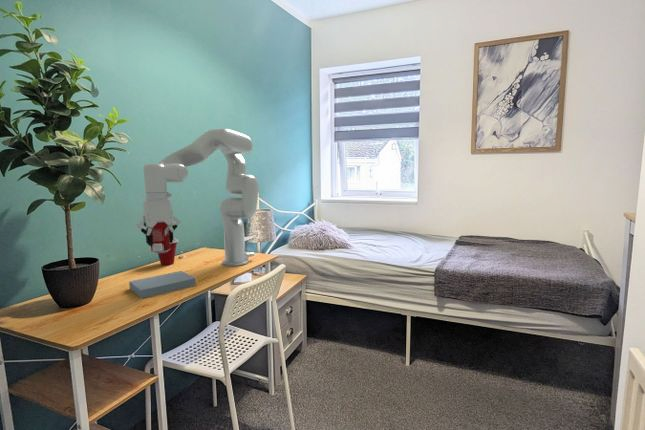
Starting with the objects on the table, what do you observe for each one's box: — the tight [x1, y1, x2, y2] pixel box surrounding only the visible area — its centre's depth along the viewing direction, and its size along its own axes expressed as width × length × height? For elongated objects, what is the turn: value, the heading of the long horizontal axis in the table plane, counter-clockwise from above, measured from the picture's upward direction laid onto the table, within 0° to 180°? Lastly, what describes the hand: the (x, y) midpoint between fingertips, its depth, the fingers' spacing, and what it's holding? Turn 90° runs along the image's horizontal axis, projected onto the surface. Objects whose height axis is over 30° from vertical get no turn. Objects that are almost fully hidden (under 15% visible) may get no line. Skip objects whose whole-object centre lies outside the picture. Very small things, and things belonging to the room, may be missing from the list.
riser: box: [128, 270, 197, 299], centre depth 139 cm, size 20×14×3 cm
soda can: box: [150, 221, 170, 254], centre depth 137 cm, size 7×7×12 cm
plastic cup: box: [157, 237, 179, 266], centre depth 173 cm, size 11×11×12 cm
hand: (160, 243), depth 137 cm, fingers closed on soda can, 6 cm apart
